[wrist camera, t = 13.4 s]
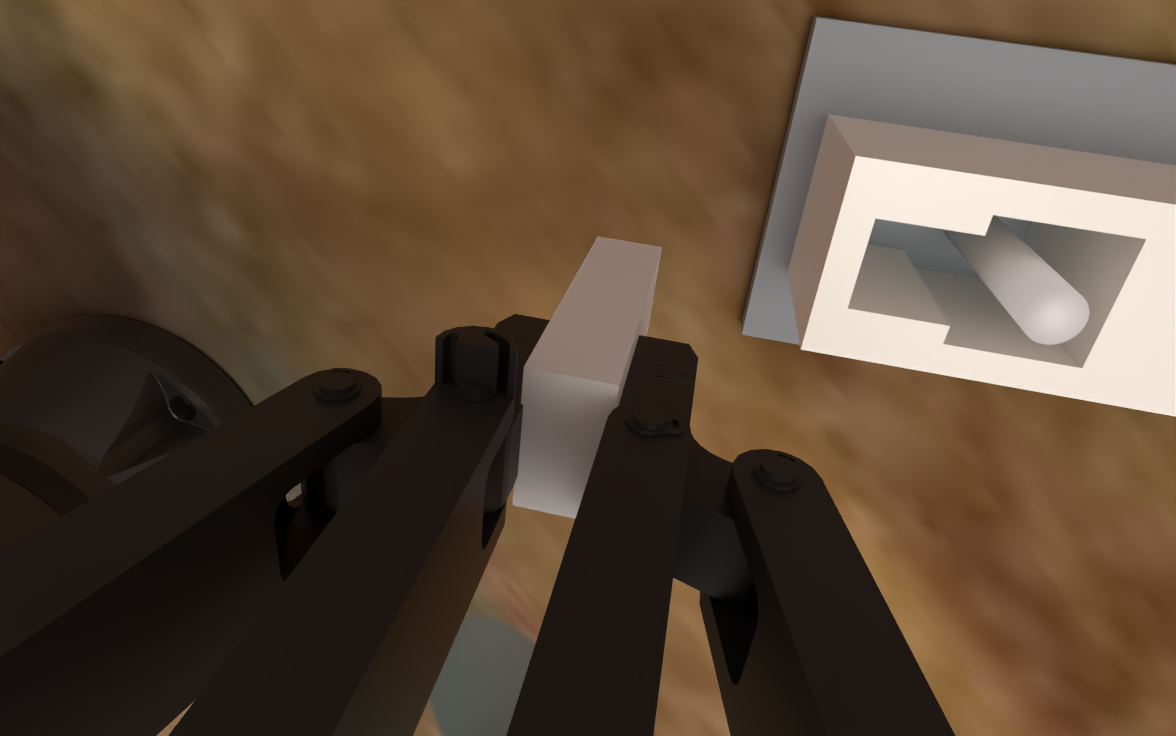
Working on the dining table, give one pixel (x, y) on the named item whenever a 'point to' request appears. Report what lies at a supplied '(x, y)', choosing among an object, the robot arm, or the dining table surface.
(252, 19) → the dining table surface
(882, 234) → the grey piece
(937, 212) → the white slotted block
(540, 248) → the dining table surface
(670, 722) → the dining table surface
